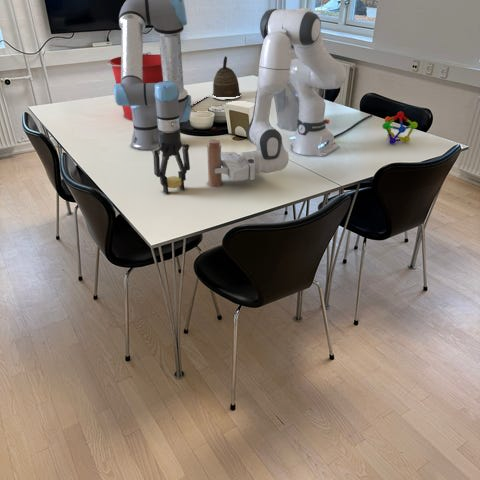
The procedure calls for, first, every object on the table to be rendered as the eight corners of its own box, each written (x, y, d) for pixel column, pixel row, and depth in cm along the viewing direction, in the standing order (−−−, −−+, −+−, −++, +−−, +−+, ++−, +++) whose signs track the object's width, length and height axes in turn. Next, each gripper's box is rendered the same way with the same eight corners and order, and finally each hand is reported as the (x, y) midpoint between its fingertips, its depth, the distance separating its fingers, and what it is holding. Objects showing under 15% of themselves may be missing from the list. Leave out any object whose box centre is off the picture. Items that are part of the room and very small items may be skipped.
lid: (162, 184, 164) (162, 179, 163) (176, 180, 167) (175, 175, 166) (170, 189, 160) (170, 184, 159) (184, 185, 163) (184, 180, 162)
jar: (223, 185, 170) (223, 142, 161) (211, 187, 168) (209, 144, 159) (218, 180, 174) (217, 138, 165) (206, 182, 172) (205, 139, 163)
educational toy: (377, 146, 209) (379, 114, 202) (384, 138, 219) (386, 107, 211) (411, 149, 202) (415, 116, 195) (417, 141, 212) (420, 109, 204)
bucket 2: (296, 138, 215) (301, 78, 201) (255, 124, 234) (256, 68, 219) (335, 125, 232) (342, 70, 217) (294, 113, 251) (297, 61, 236)
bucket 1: (123, 105, 263) (116, 51, 247) (182, 106, 262) (179, 52, 247) (107, 123, 234) (97, 63, 218) (173, 124, 233) (168, 64, 217)
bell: (227, 105, 294) (202, 96, 282) (238, 66, 289) (213, 55, 277) (243, 108, 280) (217, 98, 268) (255, 66, 275) (229, 55, 263)
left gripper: (147, 137, 146) (154, 200, 158) (198, 128, 155) (200, 188, 167) (139, 131, 151) (146, 192, 163) (188, 122, 160) (191, 181, 172)
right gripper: (239, 146, 177) (205, 150, 174) (255, 165, 161) (218, 169, 157) (239, 161, 180) (206, 165, 177) (255, 181, 164) (219, 185, 160)
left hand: (173, 190), depth 165 cm, fingers closed on lid, 6 cm apart
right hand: (212, 167), depth 167 cm, fingers closed on jar, 5 cm apart
